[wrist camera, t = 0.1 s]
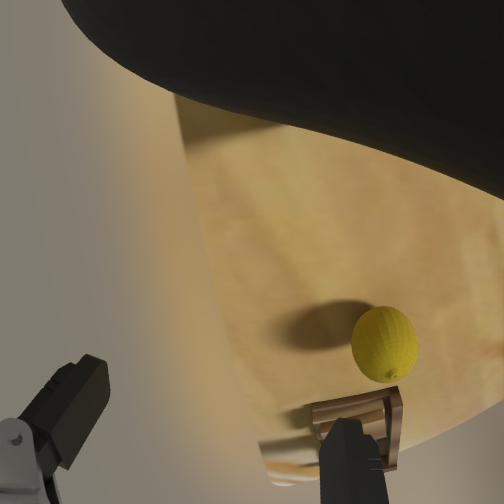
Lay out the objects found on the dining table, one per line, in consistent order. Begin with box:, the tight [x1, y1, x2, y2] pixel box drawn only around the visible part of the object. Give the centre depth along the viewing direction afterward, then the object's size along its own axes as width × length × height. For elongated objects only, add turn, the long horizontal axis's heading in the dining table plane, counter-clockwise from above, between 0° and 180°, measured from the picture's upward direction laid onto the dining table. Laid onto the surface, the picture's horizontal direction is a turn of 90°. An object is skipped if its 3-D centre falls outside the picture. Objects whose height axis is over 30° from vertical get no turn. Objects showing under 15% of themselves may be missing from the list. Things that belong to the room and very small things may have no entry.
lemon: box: [351, 306, 418, 383], centre depth 24 cm, size 6×6×8 cm
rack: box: [312, 386, 403, 473], centre depth 33 cm, size 16×10×4 cm, turn 16°
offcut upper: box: [320, 408, 387, 440], centre depth 30 cm, size 4×7×2 cm, turn 110°
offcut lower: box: [312, 399, 385, 440], centre depth 31 cm, size 4×8×2 cm, turn 106°
